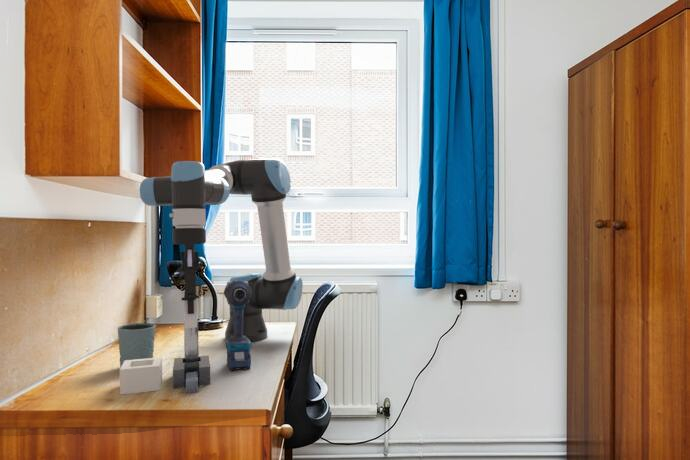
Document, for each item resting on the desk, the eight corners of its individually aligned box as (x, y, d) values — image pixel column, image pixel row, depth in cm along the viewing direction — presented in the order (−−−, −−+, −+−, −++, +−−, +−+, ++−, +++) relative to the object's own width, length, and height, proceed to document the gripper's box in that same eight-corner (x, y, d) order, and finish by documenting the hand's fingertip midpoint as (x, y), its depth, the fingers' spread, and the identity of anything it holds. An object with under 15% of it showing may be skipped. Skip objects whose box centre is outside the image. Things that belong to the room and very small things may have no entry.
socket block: (174, 374, 133) (174, 358, 133) (209, 371, 136) (208, 355, 136) (173, 388, 121) (172, 370, 121) (210, 384, 124) (210, 366, 124)
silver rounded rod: (185, 375, 132) (184, 320, 132) (198, 374, 133) (197, 319, 133) (184, 379, 129) (183, 322, 129) (199, 377, 130) (198, 321, 130)
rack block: (125, 383, 126) (124, 360, 126) (162, 379, 129) (161, 357, 129) (120, 394, 117) (119, 369, 117) (160, 390, 120) (159, 365, 120)
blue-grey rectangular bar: (186, 383, 125) (186, 372, 125) (197, 382, 126) (197, 371, 126) (185, 393, 117) (185, 381, 117) (198, 392, 118) (197, 380, 118)
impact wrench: (226, 380, 127) (224, 284, 127) (224, 358, 149) (222, 276, 149) (257, 377, 129) (255, 283, 129) (250, 356, 151) (248, 275, 151)
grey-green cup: (123, 364, 145) (122, 323, 145) (158, 361, 147) (158, 321, 147) (114, 373, 135) (113, 330, 135) (153, 370, 137) (152, 328, 137)
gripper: (173, 227, 120) (175, 323, 121) (171, 227, 108) (173, 333, 108) (204, 227, 123) (206, 321, 123) (206, 226, 110) (208, 331, 110)
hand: (191, 326), depth 115 cm, fingers closed
